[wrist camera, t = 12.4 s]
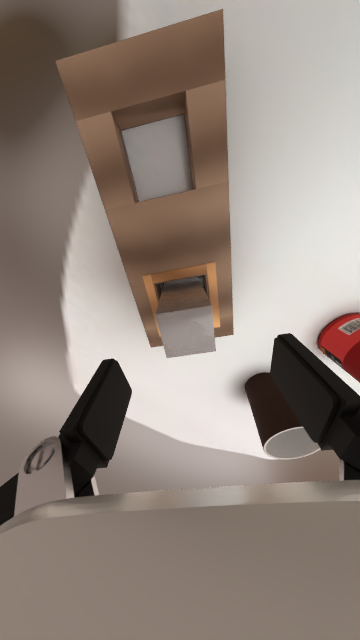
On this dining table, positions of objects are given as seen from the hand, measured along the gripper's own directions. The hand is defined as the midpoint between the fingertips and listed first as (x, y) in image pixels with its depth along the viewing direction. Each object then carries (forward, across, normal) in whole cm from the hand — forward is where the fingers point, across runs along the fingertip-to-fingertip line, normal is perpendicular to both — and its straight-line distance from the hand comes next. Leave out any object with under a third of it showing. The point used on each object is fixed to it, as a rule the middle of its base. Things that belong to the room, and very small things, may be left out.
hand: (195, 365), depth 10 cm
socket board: (+14, +1, -6) cm, 16 cm away
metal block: (+14, +1, +1) cm, 14 cm away
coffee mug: (+14, -11, +23) cm, 29 cm away
